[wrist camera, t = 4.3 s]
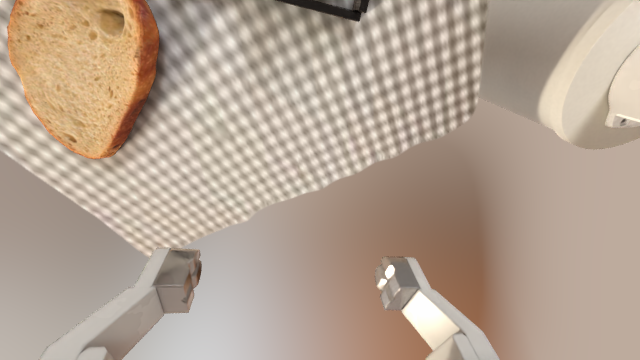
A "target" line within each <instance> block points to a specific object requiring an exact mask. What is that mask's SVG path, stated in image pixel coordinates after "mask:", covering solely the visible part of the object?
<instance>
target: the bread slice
mask: <svg viewBox="0 0 640 360" xmlns="http://www.w3.org/2000/svg"><path fill="white" fill-rule="evenodd" d="M7 30H8V49H9V57H10V60H11V63H12V65H13V67H14V68H15V69H16V71H17V72H18V74H19V76H20V78H21V81H22V84H23V87H24V91H25V97H26V99H27V101H28V103H29V105H30V106H31V108H32V110H33V112H34V114H35V115H36V116H37V117H38V118H39V120H40V121H41V122H42V124H43V125H44V126H45V128H46V129H47V130H48V132H49V133H50V134H51V135H52V136H54V137H55V138H56V139H57V140H58V141H59V142H60V143H62V144H63V145H64V146H66V147H67V148H69V149H70V150H71V151H73V152H75V153H77V154H80V155H82V156H84V157H86V158H91V159H100V158H105V157H111V156H113V155H114V154H115V153H116V151H117V150H118V149H119V148H120V147H121V146H122V144H123V143H124V142H125V141H126V139H127V137H128V135H129V133H130V132H131V130H132V127H133V125H134V123H135V121H136V119H137V117H138V115H139V113H140V111H141V109H142V107H143V105H144V103H145V102H146V99H147V97H148V95H149V92H150V90H151V86H152V84H153V82H154V79H155V76H156V61H157V56H158V49H159V31H158V28H157V24H156V21H155V19H154V16H153V14H152V11H151V9H150V7H149V5H148V4H147V2H146V1H145V0H16V1H15V4H14V7H13V9H12V12H11V14H10V22H9V25H8V26H7Z"/></svg>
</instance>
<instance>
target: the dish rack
mask: <svg viewBox="0 0 640 360" xmlns="http://www.w3.org/2000/svg"><path fill="white" fill-rule="evenodd" d="M275 1H279V2H283V3H287V4H291V5H295V6H299V7H302V8H306V9H310V10H314V11H318V12H322V13H326V14H330V15H334V16H338V17H341V18H345V19H349V20H353V21H358V22H359V21H360V17H361V13H366V11H367V7H368V3H369V0H355V1H354V6H353V11H352V10H348V9H345V8H341V7H337V6H333V5H329V4H326V3H322V2H318V1H314V0H275Z"/></svg>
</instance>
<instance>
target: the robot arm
mask: <svg viewBox="0 0 640 360" xmlns="http://www.w3.org/2000/svg"><path fill="white" fill-rule="evenodd" d="M608 104H609V112H608V114H607V117H606V120H605V126H608V127H612V128H621V127H640V45H639V46H638V47H637V48H636V49H635V50H634V51H633V52H632V53H631V54H630V56H629V57H628V58H627V59H626V61H625V62H624V63H623V65H622V66H621V68H620V69H619V71H618V72H617V74H616V76H615V78H614V80H613V82H612V84H611V87H610V90H609V94H608ZM199 258H200V250H197V249H180V248H161V247H157V248H156V249H155V250H154V251H153V253H152V255H151V256H150V258H149V260H148V262H147V264H146V265H145V267H144V269H143V271H142V273H141V274H140V276H139V278H138V280H137V282H136V283H135V285H134V287H128V288H127V289H126V290H124V291H123V292H121V293H120V294H119V295H117V296H116V297H115V298H113V299H112V300H111V301H109V302H108V303H106V304H105V305H104V306H102V307H101V308H100V309H99V310H97V311H96V312H94V313H93V314H92V315H90V316H89V317H87V318H86V319H85V320H83V321H82V322H81V323H79V324H78V325H76V326H75V327H74V328H72V329H71V330H70V331H68V332H67V333H66V334H64V335H63V336H62V337H60V338H59V339H57V340H56V341H55V342H53V343H52V344H51V345H49V346H48V347H47V348H46V349H45V351H44V352H43V353H42V355H41V356H40V358H39V359H38V360H122V359H123V357H124V356H125V355H126V354H127V353H128V352H129V351H130V350H131V349H132V348H133V347H134V346H135V345H136V344H137V342H139V341H140V340H141V339H142V337H144V335H145V334H147V332H148V331H149V330H150V329H151V328H152V327H153V326H154V325H155V324H156V323H157V322H158V321H159V320H160V319H161V318H162V317H163V316H164V314H165V313H188V312H189V310H190V307H191V304H192V301H193V298H194V291H193V289H194V288H195V287H196V286H197V285H198V283H199V279H200V275H201V267H202V264H201V261H200V260H199ZM381 263H382V264H381V265H380V266H378V267H377V269H376V271H375V282H376V285H377V287H378V288H379V289H380V290H381V294H380V297H381V301H382V303H383V307H384V309H385V310H402V313H403V314H404V315H405V317H406V318H407V319H408V320H409V322H410V323H411V324H412V325H413V326H414V328H415V329H416V330H417V331H418V332H419V334H420V335H421V336H422V337H423V339H424V340H425V341H426V342H427V344H428V345H429V346H430V347H431V348H432V350H433V351H432V352H431V353H430V354H429V355H428V356H427V357H426V359H425V360H500V359H499V358H498V356H497V354H496V353H495V351H494V349H493V348H492V346H491V345H490V343H489V341H488V339H487V338H486V336H485V334H484V333H483V331H481V330H480V329H479V328H478V327H477V326H476V325H474V324H473V323H472V322H471V321H470V320H469V319H468V318H467V317H465V316H464V315H463V314H462V313H461V312H460V311H458V310H457V309H456V308H455V307H454V306H453V305H451V303H449V302H448V301H447V300H446V299H445V298H444V297H443V296H441V295H440V294H439V293H438V292H437V291H436V290H434V289H431V287H430V285H429V283H428V281H427V280H426V277H425V276H424V274H423V272H422V270H421V268H420V266H419V264H418V262H417V260H415V258H412V257H411V258H410V257H383V258H382V260H381Z"/></svg>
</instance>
